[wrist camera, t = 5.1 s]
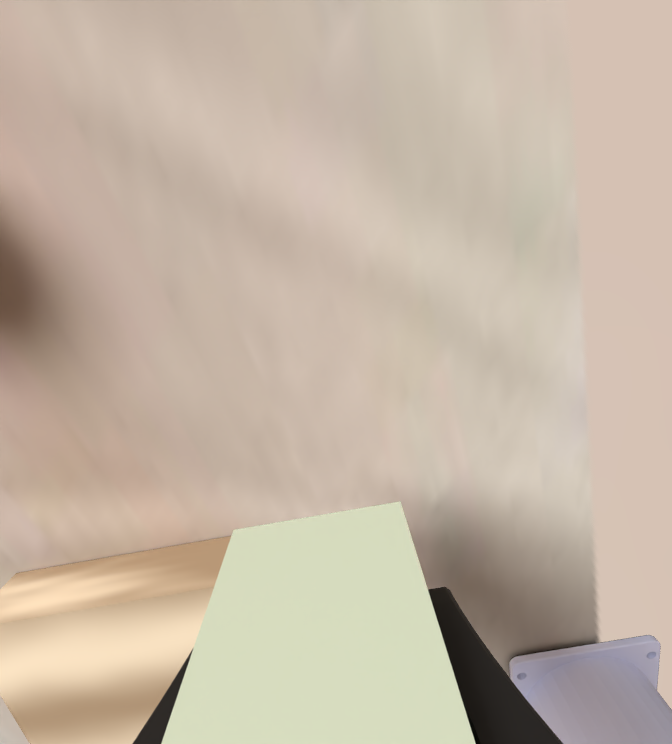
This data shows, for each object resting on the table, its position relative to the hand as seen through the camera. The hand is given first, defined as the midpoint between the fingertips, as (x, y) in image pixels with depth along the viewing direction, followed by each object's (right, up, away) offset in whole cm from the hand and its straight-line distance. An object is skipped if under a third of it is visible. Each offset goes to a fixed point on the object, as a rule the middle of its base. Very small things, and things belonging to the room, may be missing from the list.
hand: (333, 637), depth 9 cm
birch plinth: (-9, -8, +11) cm, 16 cm away
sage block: (0, 0, +2) cm, 2 cm away
